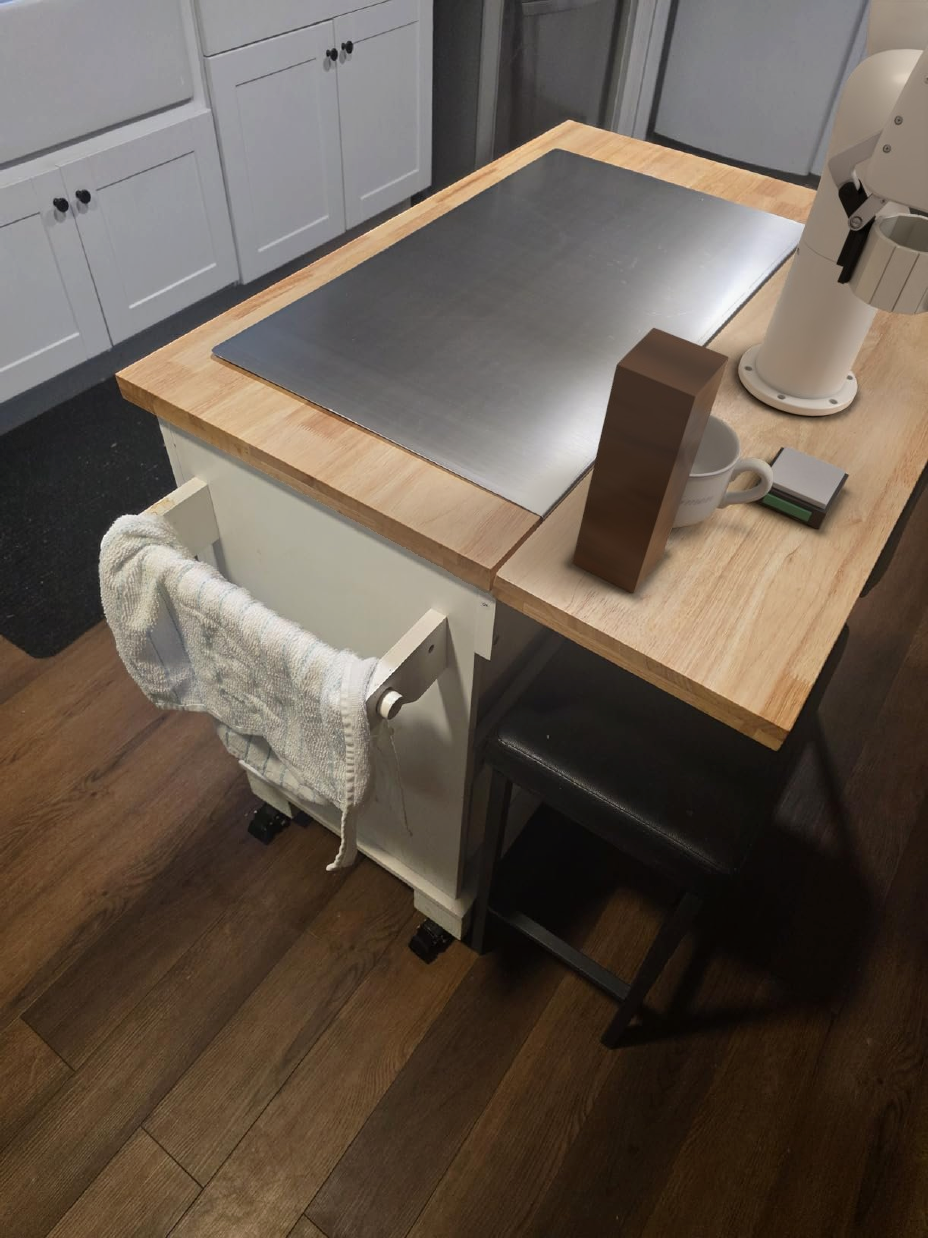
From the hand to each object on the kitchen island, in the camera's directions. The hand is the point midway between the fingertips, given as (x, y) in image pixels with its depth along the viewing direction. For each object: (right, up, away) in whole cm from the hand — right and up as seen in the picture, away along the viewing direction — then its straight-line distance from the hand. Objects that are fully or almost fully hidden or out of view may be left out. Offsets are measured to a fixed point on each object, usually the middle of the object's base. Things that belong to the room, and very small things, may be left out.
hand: (892, 290), depth 67 cm
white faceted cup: (0, 0, 0) cm, 0 cm away
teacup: (-13, -15, +14) cm, 25 cm away
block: (-19, -20, +9) cm, 29 cm away
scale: (-1, -13, +16) cm, 21 cm away
